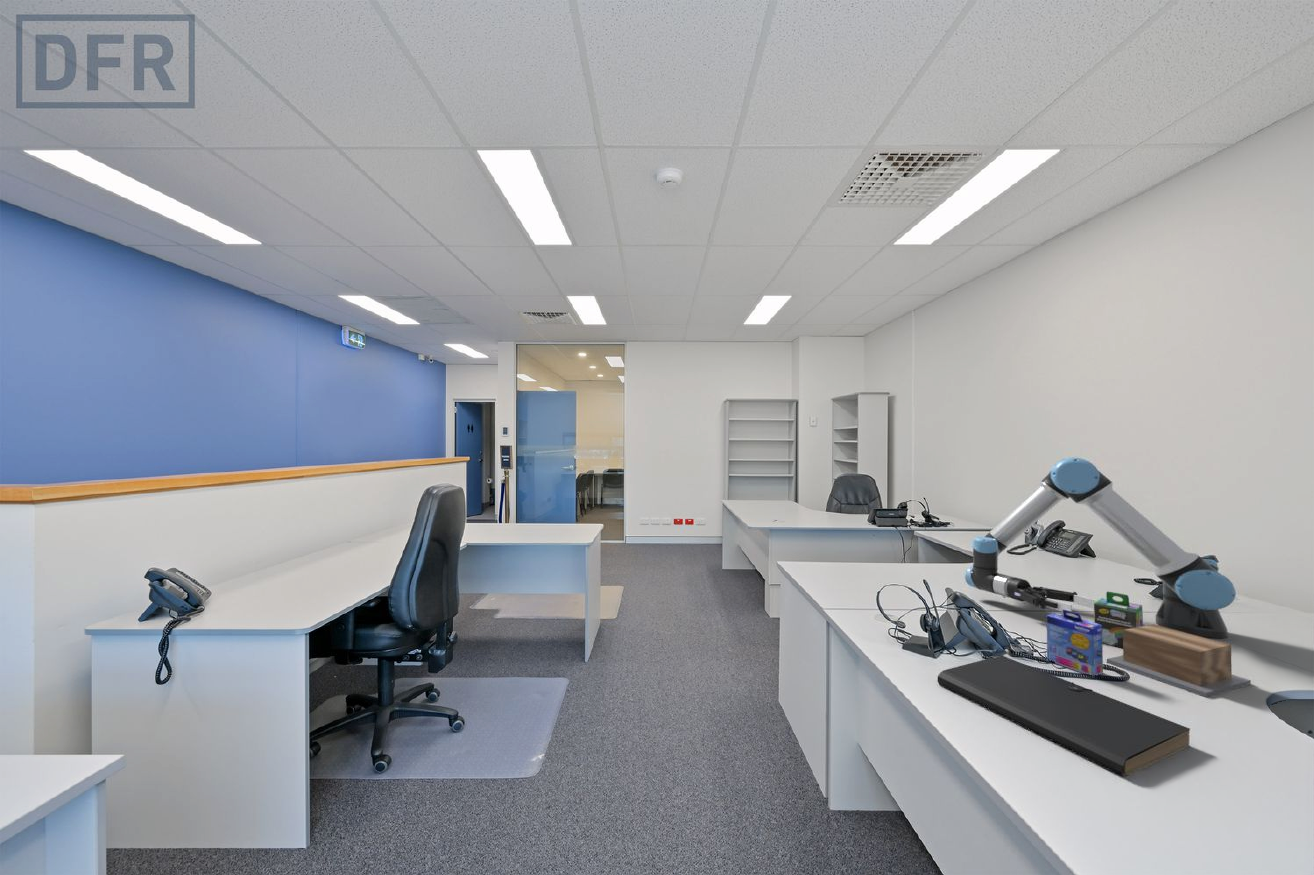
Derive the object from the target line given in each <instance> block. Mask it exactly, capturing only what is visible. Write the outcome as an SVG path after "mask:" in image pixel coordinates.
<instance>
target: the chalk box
mask: <svg viewBox="0 0 1314 875" xmlns="http://www.w3.org/2000/svg"><path fill="white" fill-rule="evenodd" d="M1105 594H1106V598H1103V597H1102V598H1100V599H1096V600H1097V602H1095V603H1094V608H1093V618H1094V619H1093V620H1094V621H1093V622H1094V623H1098V624H1101V625H1102V644H1105V645H1109V646H1112V647H1116V648H1121V649H1123V630H1125V629H1131V628H1136V627H1142V626H1144V614H1143V613H1144V612H1143V605H1142V604H1138V603H1132V602H1130V599H1129V595H1128V594H1124V593H1119V592H1113V591H1106V593H1105ZM1114 597H1118V598H1121V599H1122V600H1116V599H1114Z"/></svg>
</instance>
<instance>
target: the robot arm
mask: <svg viewBox="0 0 1314 875" xmlns="http://www.w3.org/2000/svg"><path fill="white" fill-rule="evenodd" d="M1068 499H1071V500H1072V501H1073V502H1074V503H1076V504H1078V505H1084V506H1087V507H1088V508H1089V510H1091V511H1092V512H1093V514H1095V515H1096V516H1097V517H1098V518H1100V519H1101V520H1102V521H1103V522H1104V523H1105V524H1106V525H1107V526H1108V527H1110V528H1111V530H1113V531H1114V532H1115V533H1117V535H1119V536H1120V537H1121V538H1122V539H1123V540H1124V541H1125V542H1126V543H1128V545H1129V546H1131V547H1132V548H1133V549H1134V550H1135V551H1136V552H1138V553H1139V554H1140V555H1141V556H1142V557H1143V558H1144V559H1145V560H1146V561H1148V562H1149V563H1150V564H1151V565H1152V566H1153V567H1154V575H1155V576H1156V577H1157V578H1158V579H1159V580H1161V582H1162V602H1161V604H1160V606H1159V608H1158V610H1157V612H1156V614H1155V624H1156V625H1158V626H1162V627H1166V628H1170V629H1173V630H1177V631H1181V632H1185V633H1188V634H1192V635H1196V636H1200V637H1203V638H1212V639H1213V638H1214V639H1225V638H1228V632H1229V631H1228V628H1227V626H1226V624H1225V621H1224V619H1223V617H1222V615H1221V612H1220V610H1222V609H1224V608H1227V607H1228V606H1230V605H1231V604H1233V602H1234V601H1235V598H1236V594H1237V593H1236V589H1235V586H1234V583H1233V582H1232V581H1231V580H1230V579H1229V578H1228V577H1226V576H1225V575H1224V574H1221V573H1220V572H1219V571H1218V570H1219V566H1218V562H1217V561H1216V560H1214V559H1208V558H1202V557H1201V556H1199V555H1198V553H1194V552H1187V551H1185V550H1184V549H1183V548H1181V546H1179V545H1178V544H1177V543H1175V541H1173V540H1172V539H1171V538H1170V537H1169V536H1168V535H1167V534H1165V533H1164V532H1163V531H1162V530H1160V528H1158V526H1155V524H1154V523H1152V522H1151V521H1150V520H1149V519H1148V518H1147V517H1145V516H1144V515H1143V514H1142V512H1141V513H1140V512H1139V511H1138V510H1137V509H1136V508H1135V507H1134V506H1132V504H1130V503H1129V502H1128V501H1126V499H1124V498H1123V497H1122V496H1120V494H1118V493H1117V491H1115V490H1114V489H1113V481H1111V480H1110V479H1109V478H1108V477H1107V476H1105V475H1104V474H1103V473H1102V472H1101V471H1100V470H1098V469H1097V467H1096V466H1095V465H1094V464H1093V463H1092V462H1090V461H1089V460H1087V459H1084V458H1082V457H1081V458H1080V457H1067V458H1062V459H1061V460H1059V461H1058V462H1056V463H1055V464H1054V465H1053V467H1052V468H1051V470H1050V471H1049V472H1048V474H1046V476H1045V477H1044V478H1043V479H1042V480H1040V486H1039V487H1038V488H1037V489H1036V490H1034V491H1033V492H1032V493H1031V494H1030V495H1029V496H1028V497H1027V498H1026V499H1024V500H1023V501H1022V502H1021V503H1020V504H1019V505H1018V506H1016V508H1014V509H1013V511H1011V512H1010V513H1009V514H1008V515H1007V516H1006V517H1005V518H1003V520H1001V521H1000V522H999V523H998V524H997V525H995V527H994V528H992V529H991V530H990V531H989V532H988V533H987V534H986V535H985V536H975V537H974V538H973V539H972V541H973V542H972V560H973V561H972V562H973V563H972V566H970V567H968V568H967V569H966V573H964V574H965V575H964V580H965V582H966V583H967V585H969V587H971V588H976V589H978V590H980V591H985V592H988V593H991V594H995V595H999V596H1001V597H1002V598H1003V599H1005V598H1008V599H1009V598H1010V599H1012V600H1016V601H1020V602H1027V603H1029V604H1031V606H1032V605H1033V606H1035V607H1040V609H1041V610H1046V608H1048V609H1052V610H1055V611H1060V612H1062V613H1063V610H1067V611H1071V612H1073V605H1072V604H1071V603H1073V604H1076V605H1078V606H1082V607H1086V608H1090V609H1094V603H1095V602H1097V600H1098V599H1093V598H1090V597H1086V596H1082V595H1078V593H1077V592H1076V591H1073V592H1071V591H1066V590H1065V591H1064V590H1059V589H1053V588H1048V587H1044V586H1031V584H1030V582H1029V581H1028V580H1026V579H1023V578H1019V577H1014V576H1012V575H1007V574H1003V573H999V572H998V564H999V563H998V562H999V561H998V560H999V555H1000V554H1001V553H1002V552H1003V551H1005V549H1007V548H1008V547H1009V546H1011V544H1012V543H1014V542H1015V541H1016V540H1017V539H1019V537H1021V536H1022V535H1023V534H1024V533H1025V532H1027V530H1029V529H1030V528H1031V527H1033V526H1034V524H1036V523H1037V522H1038V521H1040V520H1041V518H1043V517H1044V516H1045V515H1046V514H1047V513H1048V512H1049V511H1051V510H1052V509H1053V508H1054V507H1055V506H1057V505H1058V504H1059V503H1060V502H1061V501H1063V500H1068ZM1067 602H1070V603H1067ZM1062 609H1063V610H1062ZM1068 615H1072V614H1071V613H1068Z"/></svg>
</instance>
